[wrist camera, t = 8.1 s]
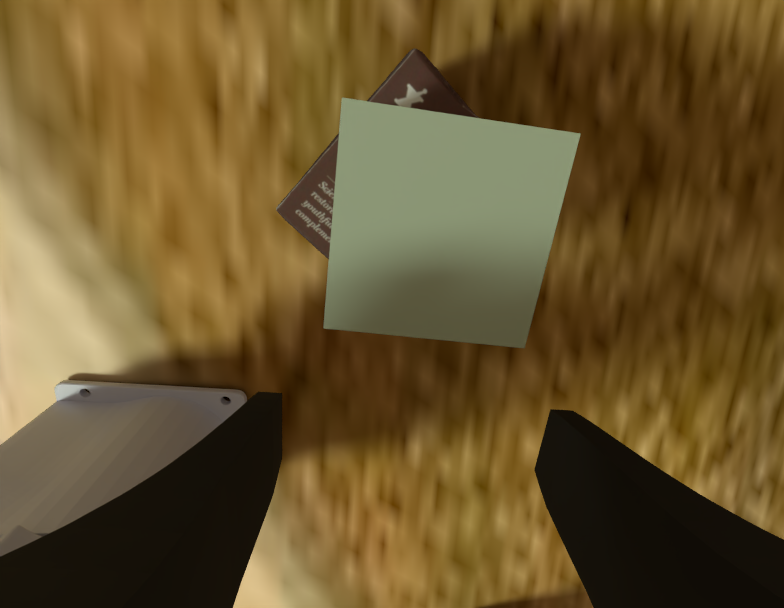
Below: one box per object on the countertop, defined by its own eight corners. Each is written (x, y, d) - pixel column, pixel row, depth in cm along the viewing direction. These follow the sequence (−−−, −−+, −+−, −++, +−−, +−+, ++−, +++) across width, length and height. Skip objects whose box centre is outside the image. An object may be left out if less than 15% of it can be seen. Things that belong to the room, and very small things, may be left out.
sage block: (340, 264, 12) (323, 328, 8) (354, 123, 11) (342, 97, 6) (468, 278, 13) (524, 348, 8) (494, 144, 12) (580, 133, 7)
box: (305, 189, 19) (267, 207, 12) (397, 85, 17) (415, 37, 11) (398, 277, 20) (413, 339, 13) (489, 188, 19) (557, 205, 12)
